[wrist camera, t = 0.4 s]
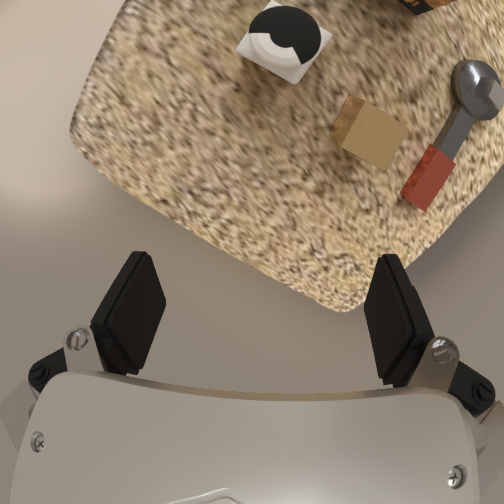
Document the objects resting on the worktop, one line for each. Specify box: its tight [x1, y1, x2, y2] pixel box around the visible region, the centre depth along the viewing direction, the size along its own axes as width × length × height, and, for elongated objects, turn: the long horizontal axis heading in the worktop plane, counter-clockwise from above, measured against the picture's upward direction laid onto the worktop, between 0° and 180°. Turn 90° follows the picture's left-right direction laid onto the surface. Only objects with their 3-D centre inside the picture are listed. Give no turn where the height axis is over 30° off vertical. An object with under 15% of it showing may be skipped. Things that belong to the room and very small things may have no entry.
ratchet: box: [401, 59, 504, 211], centre depth 26 cm, size 26×9×6 cm, turn 158°
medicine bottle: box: [235, 1, 332, 85], centre depth 21 cm, size 7×7×12 cm
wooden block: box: [330, 95, 409, 171], centre depth 28 cm, size 6×6×7 cm
